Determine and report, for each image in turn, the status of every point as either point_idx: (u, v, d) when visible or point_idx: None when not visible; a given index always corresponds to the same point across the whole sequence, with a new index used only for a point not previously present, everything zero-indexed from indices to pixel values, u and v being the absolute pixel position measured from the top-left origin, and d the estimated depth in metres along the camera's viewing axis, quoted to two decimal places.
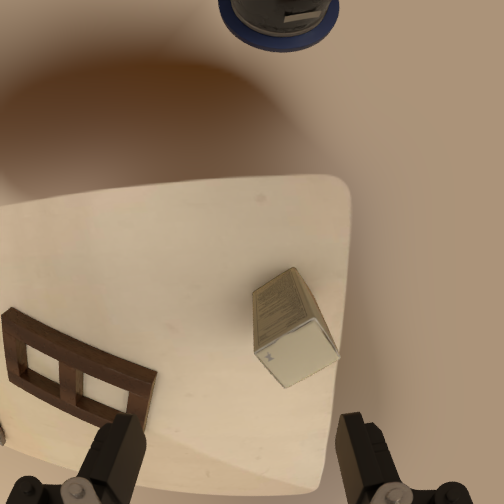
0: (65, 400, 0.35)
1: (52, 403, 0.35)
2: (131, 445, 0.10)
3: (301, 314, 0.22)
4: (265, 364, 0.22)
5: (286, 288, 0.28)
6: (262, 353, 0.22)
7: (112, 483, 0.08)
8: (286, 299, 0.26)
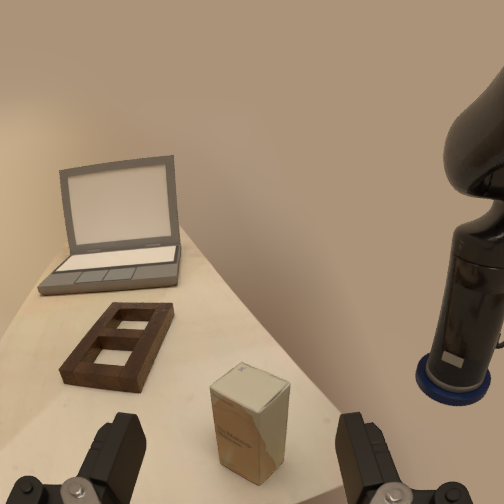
0: (104, 330, 0.47)
1: (97, 323, 0.50)
2: (131, 445, 0.10)
3: None
4: (233, 369, 0.26)
5: None
6: (244, 365, 0.26)
7: (112, 483, 0.08)
8: None
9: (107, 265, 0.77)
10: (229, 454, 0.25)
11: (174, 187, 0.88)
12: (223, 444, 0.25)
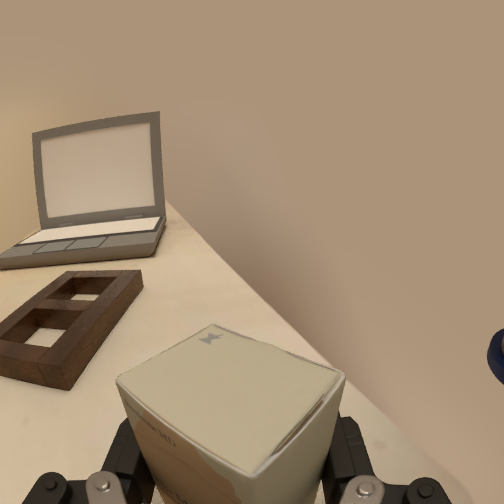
0: (43, 302, 0.32)
1: (39, 293, 0.34)
2: None
3: None
4: (189, 338, 0.10)
5: None
6: (218, 329, 0.10)
7: (137, 476, 0.08)
8: None
9: (75, 236, 0.61)
10: None
11: (159, 148, 0.73)
12: None
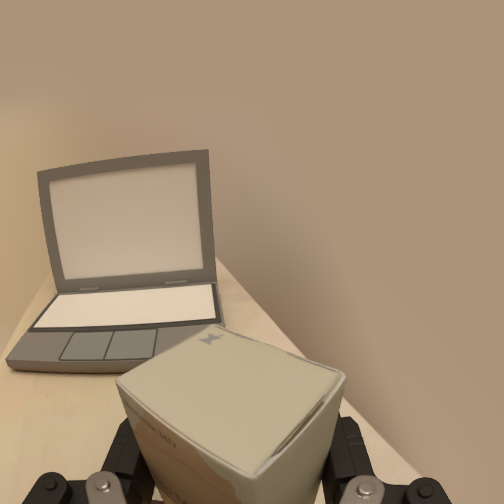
0: None
1: None
2: None
3: None
4: (189, 339, 0.10)
5: None
6: (218, 330, 0.10)
7: (137, 476, 0.08)
8: None
9: (110, 322, 0.49)
10: None
11: (209, 198, 0.60)
12: None
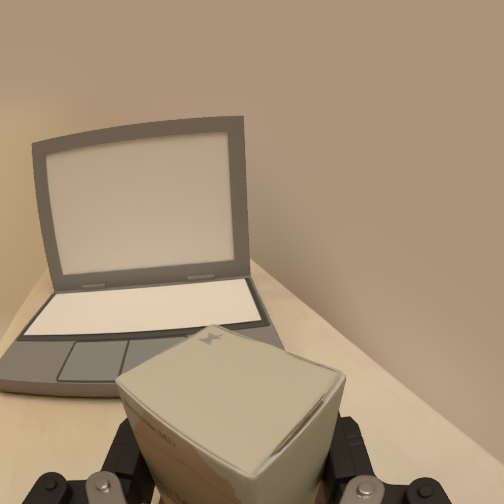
0: None
1: None
2: None
3: None
4: (189, 338, 0.10)
5: None
6: (218, 330, 0.10)
7: (137, 476, 0.08)
8: None
9: (123, 327, 0.38)
10: None
11: (243, 173, 0.49)
12: None
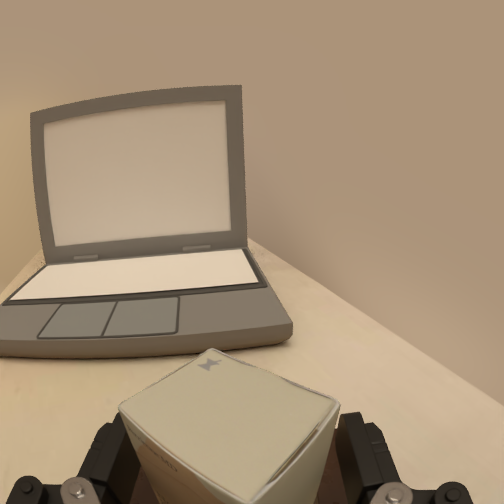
0: None
1: None
2: (131, 445, 0.10)
3: None
4: (188, 363, 0.10)
5: None
6: (216, 354, 0.10)
7: (112, 483, 0.08)
8: None
9: (112, 290, 0.36)
10: None
11: (241, 142, 0.48)
12: None
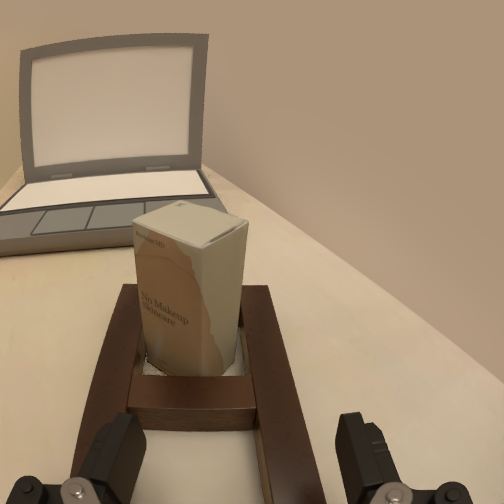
0: (135, 385, 0.17)
1: (106, 355, 0.19)
2: (131, 445, 0.10)
3: None
4: (168, 205, 0.19)
5: None
6: (184, 201, 0.19)
7: (112, 483, 0.08)
8: None
9: (89, 198, 0.42)
10: (159, 342, 0.20)
11: (203, 81, 0.51)
12: (150, 326, 0.19)
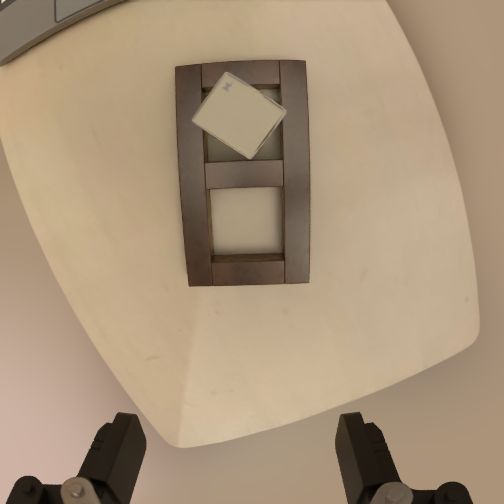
0: (208, 172, 0.29)
1: (183, 149, 0.29)
2: (131, 445, 0.10)
3: None
4: (216, 86, 0.19)
5: None
6: (230, 78, 0.19)
7: (112, 483, 0.08)
8: None
9: None
10: None
11: None
12: None
